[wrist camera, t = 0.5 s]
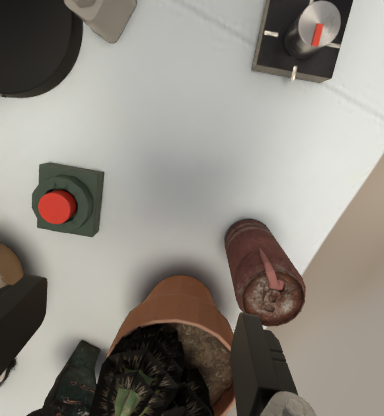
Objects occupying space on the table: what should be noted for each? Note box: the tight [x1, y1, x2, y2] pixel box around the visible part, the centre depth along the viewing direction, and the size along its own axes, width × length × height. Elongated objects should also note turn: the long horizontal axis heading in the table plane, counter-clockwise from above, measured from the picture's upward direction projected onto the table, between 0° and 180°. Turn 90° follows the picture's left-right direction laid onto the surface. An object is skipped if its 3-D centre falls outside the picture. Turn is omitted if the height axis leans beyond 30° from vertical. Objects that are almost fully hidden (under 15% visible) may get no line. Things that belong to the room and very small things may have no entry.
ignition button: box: [38, 190, 76, 224], centre depth 33 cm, size 4×4×2 cm
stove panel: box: [252, 0, 353, 83], centre depth 30 cm, size 13×8×3 cm, turn 170°
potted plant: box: [89, 275, 236, 416], centre depth 29 cm, size 14×14×25 cm
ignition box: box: [32, 163, 104, 237], centre depth 36 cm, size 8×7×4 cm
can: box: [225, 219, 305, 326], centre depth 32 cm, size 6×6×14 cm
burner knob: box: [284, 0, 341, 59], centre depth 27 cm, size 4×4×5 cm
